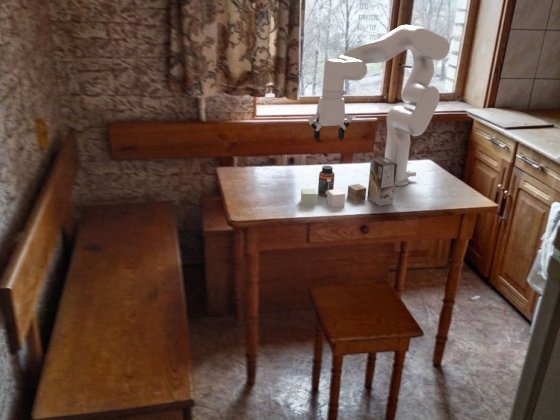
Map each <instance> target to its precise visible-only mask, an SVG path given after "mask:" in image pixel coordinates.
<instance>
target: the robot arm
mask: <svg viewBox="0 0 560 420" xmlns="http://www.w3.org/2000/svg"><path fill="white" fill-rule="evenodd" d="M450 45H451V44H450V42H449V41H448V40H447V38H446V37H444V36H442V35H440V34H438V33H435V32H433V31H432V30H429V29H427V28H425V27H422V26H415V25H409V24H404V25H400V26H398V27H397V28H395V29H393V30H391V31H390V32H388V33H387V34H385V35H383V36H381V37H380V38H378V39H377V40H375V41H370V42H367V43H364V44H361V45H358V46H354V47H352V48H350V49H348V50H347V51H344V52H343V53H341V54H340V55H338V57H336V58H329V59H326V60H325V62H324V65H323V68H324V69H323V78H322V79H323V80H322V82H323V83H322V89H321V91H322V93H321V97H319V99H318V103H317V107H316V112H315V114H314V115H312V116H311V117H308V119H307V120H308V122H309V126H311V128H312V129H313V138H314V140H315V141H316V142H320V136H321V131H320V129H321V128H322V127H329V126H330V127H331V126H332V127H333V126H339V127H338V134H337V138H338V139H339V140H340V141H344V138H345V131H346V130H347V128H348V127H349V126H350V123H351V122H352V121H353V117H352V116H350V115H349V114H347V113H346V104H345V99H344V96H346V95H347V91H346V90H344V85H345V81H353V82H358V81H360V80H363V79H364V78H366V75H367V74H368V66H367V64H380V63H385V62H388V61H390V60H391V59H392V58H394V57H396V56H398V55H399V54H400V53H403V52H404V51H405V50H409V51H410V52H411V55H412V59H413V65H412V70H411V72H410V74H409V77H408V78H407V80H406V83H405V85H404V87H403V89H402V90H401V91H402V92H401V97H400V98H401V101H402V102H404V103H405V104H406V105H409V106H412V107H414V109H413V108H410V107H407V106H403V105H396V106H392V107H391V108H390V109H389V110H388V112H387V115H386V129H387V130H386V133H387V134H386V143H385V150H384V151H385V153H384V157H385V158H387V159H389V160H391V161H392V162H394V163H396V164H397V169H396V178H395V186H394V187H402V186H406V185H408V184H409V183H410V179H409V178H410V177H416V176H417V172H416V171H410V170H407V168H408V163H409V162H408V161H409V154H410V147H411V136H413V137H418V136H421V135H423V133H425V131H426V130H427V128H428V126H429V124H430V122H431V120H432V118H433V116H434V113H436V110H437V108H438V106H439V102H440V98H441V97H440V92H439V89H438V88H437V87H436V86H435V85H432V84H431V82H432V79H433V78H434V77H433V76H434V74H435V64H434V61H441V60H444V59H445V58H446V57H447V56H448V54H449V53H450ZM345 120H346V121H345ZM314 121H315V122H314Z"/></svg>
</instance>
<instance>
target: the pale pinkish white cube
mask: <svg viewBox="0 0 560 420" xmlns="http://www.w3.org/2000/svg"><path fill="white" fill-rule="evenodd" d="M326 203H327V204H328V205H329V206H331V208H337V207H345V203H346V193H345V192H344V191H343V190H342V189H341V188H336V189H335V188H334V189H333V190H328V194H327V197H326Z"/></svg>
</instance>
